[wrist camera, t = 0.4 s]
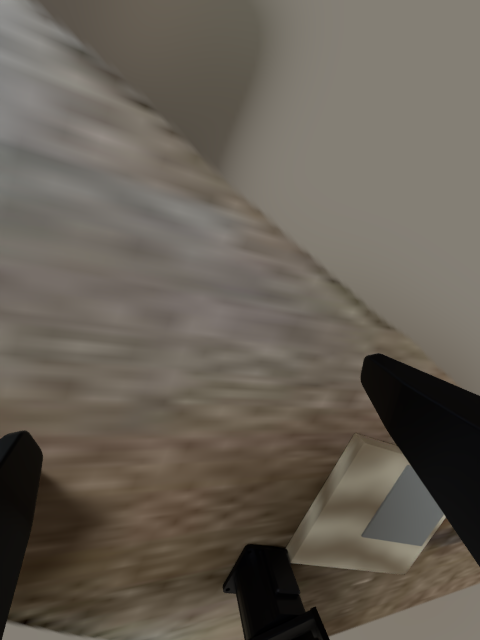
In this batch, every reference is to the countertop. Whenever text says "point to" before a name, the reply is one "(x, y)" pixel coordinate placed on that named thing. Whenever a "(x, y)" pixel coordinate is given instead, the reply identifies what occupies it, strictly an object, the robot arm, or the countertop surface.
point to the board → (368, 513)
